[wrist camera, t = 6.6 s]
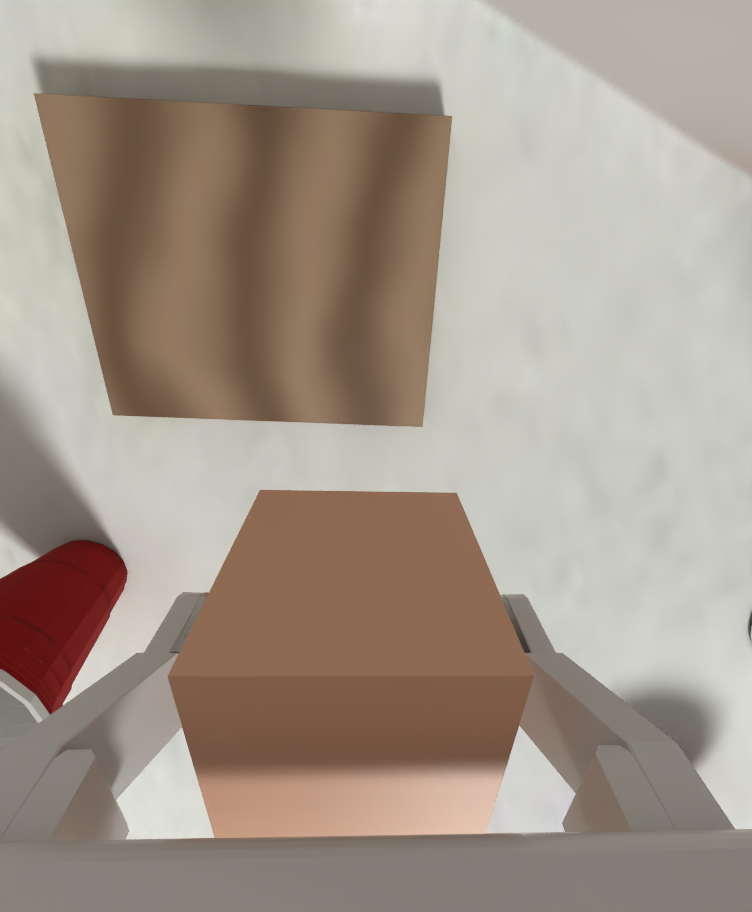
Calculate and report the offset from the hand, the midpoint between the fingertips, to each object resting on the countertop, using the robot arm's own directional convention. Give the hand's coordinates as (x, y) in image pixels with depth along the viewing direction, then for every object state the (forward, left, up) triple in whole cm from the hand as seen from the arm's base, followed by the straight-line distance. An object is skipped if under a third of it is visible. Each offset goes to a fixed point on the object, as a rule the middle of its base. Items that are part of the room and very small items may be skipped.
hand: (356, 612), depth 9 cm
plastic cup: (+22, +15, -19) cm, 33 cm away
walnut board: (+6, -7, -18) cm, 21 cm away
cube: (0, 0, -2) cm, 2 cm away
